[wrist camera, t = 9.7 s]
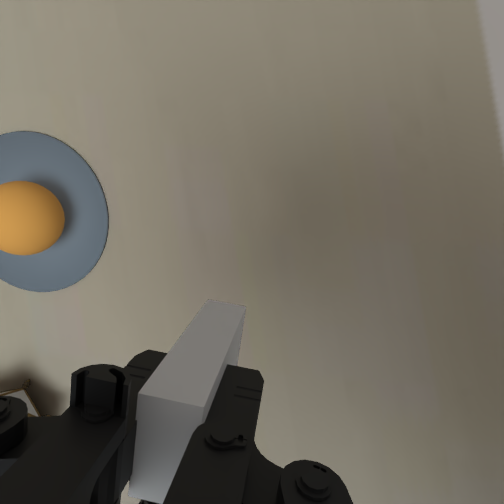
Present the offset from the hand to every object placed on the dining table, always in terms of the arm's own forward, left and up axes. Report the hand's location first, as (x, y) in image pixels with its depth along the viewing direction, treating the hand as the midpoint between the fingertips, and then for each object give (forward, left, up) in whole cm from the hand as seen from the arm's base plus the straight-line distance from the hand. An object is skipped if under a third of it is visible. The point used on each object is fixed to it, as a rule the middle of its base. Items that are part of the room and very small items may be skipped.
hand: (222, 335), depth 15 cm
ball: (+18, 0, -13) cm, 22 cm away
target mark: (+19, 0, -15) cm, 24 cm away
